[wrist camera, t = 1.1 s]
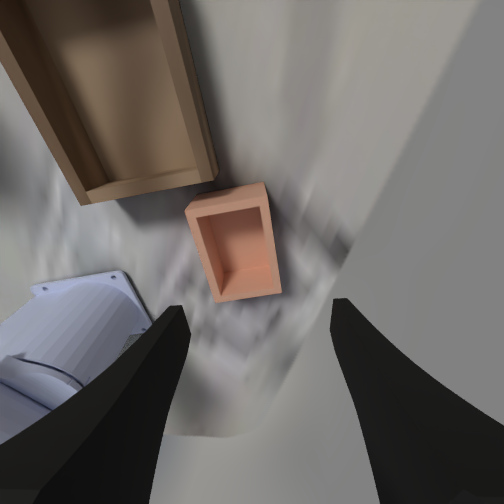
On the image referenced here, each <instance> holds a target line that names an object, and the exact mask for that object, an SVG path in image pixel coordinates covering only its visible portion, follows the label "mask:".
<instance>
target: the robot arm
mask: <svg viewBox="0 0 504 504" xmlns="http://www.w3.org/2000/svg"><path fill="white" fill-rule="evenodd" d="M114 276H116V278H115V277H114ZM30 290H31V291H32V293H33V294H34V295H35V297H33V298H32V299H31V300H30V301H28V302H27V303H26V304H25V305H23V306H22V307H21V308H20V309H19V310H17V311H16V312H15V313H14V314H12V315H11V316H10V317H9V318H7V319H6V320H5V321H4V322H2V323H1V324H0V504H149V499H150V494H151V489H152V483H153V479H154V474H155V469H156V464H157V459H158V454H159V450H160V446H161V441H162V437H163V432H164V428H165V424H166V420H167V416H168V412H169V409H170V405H171V402H172V399H173V396H174V393H175V390H176V387H177V384H178V381H179V378H180V375H181V372H182V369H183V366H184V363H185V360H186V357H187V353H188V348H189V343H190V338H191V332H190V329H189V326H188V323H187V320H186V316H185V313H184V310H183V307H182V305H177V306H169V307H168V308H167V309H166V310H165V311H164V312H163V313H162V314H161V316H160V317H159V318H158V319H157V320H156V321H155V322H154V323H153V324H152V322H151V320H150V319H149V317H148V315H147V313H146V311H145V309H144V307H143V306H142V304H141V302H140V300H139V298H138V296H137V295H136V293H135V291H134V289H133V287H132V285H131V283H130V282H129V280H128V278H127V276H126V274H125V273H124V272H123V271H120V270H118V271H112V272H106V273H100V274H94V275H88V276H82V277H76V278H70V279H64V280H58V281H52V282H47V283H41V284H35V285H33V286H32V287H31V288H30ZM144 328H145V329H144ZM140 333H143V334H142V336H141V337H140V338H139V339H138V340H137V341H136V342H135V343H134V344H133V345H131V346H130V347H129V348H128V349H127V350H126V351H125V352H124V353H123V354H122V355H121V356H120V357H119V358H118V359H117V357H118V355H119V354H120V352H121V350H122V348H123V346H124V345H125V343H126V341H127V339H128V338H129V336H130V335H133V334H140ZM330 333H331V337H332V342H333V345H334V350H335V353H336V355H337V358H338V361H339V364H340V367H341V369H342V372H343V375H344V378H345V380H346V383H347V386H348V388H349V391H350V394H351V396H352V399H353V402H354V405H355V408H356V411H357V415H358V418H359V422H360V426H361V429H362V433H363V437H364V440H365V444H366V448H367V452H368V456H369V460H370V464H371V468H372V472H373V476H374V480H375V484H376V488H377V492H378V496H379V501H380V504H504V426H503V425H502V424H500V423H499V422H497V421H496V420H494V419H492V418H491V417H489V416H488V415H486V414H484V413H483V412H482V411H480V410H478V409H477V408H475V407H474V406H473V405H471V404H470V403H468V402H467V401H465V400H464V399H462V398H461V397H459V396H458V395H457V394H455V393H454V392H452V391H451V390H449V389H448V388H446V387H445V386H444V385H442V384H441V383H440V382H438V381H437V380H436V379H434V378H433V377H432V376H430V375H429V374H428V373H426V372H425V371H424V370H422V369H421V368H420V367H419V366H418V365H416V364H415V363H414V362H413V361H411V360H410V359H409V358H408V357H407V356H405V355H404V354H403V353H402V352H401V351H400V350H399V349H398V348H396V347H395V346H394V345H393V344H392V343H391V342H390V341H389V340H388V339H387V338H386V337H385V336H383V335H382V334H381V333H380V332H379V331H378V330H377V329H376V328H375V327H374V326H373V325H372V324H371V323H370V322H369V321H368V320H367V319H366V318H365V317H364V316H363V315H362V314H361V312H360V311H359V310H358V309H357V308H356V307H355V306H354V305H353V304H352V303H351V302H350V301H349V300H348V299H347V298H341V299H333V306H332V315H331V323H330ZM116 359H117V360H116Z"/></svg>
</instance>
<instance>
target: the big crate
mask: <svg viewBox="0 0 504 504" xmlns="http://www.w3.org/2000/svg"><path fill="white" fill-rule="evenodd" d="M0 62H1V63H2V65H3V67H4V69H5V71H6V72H7V74H8V76H9V78H10V80H11V81H12V83H13V85H14V87H15V88H16V90H17V92H18V94H19V96H20V97H21V99H22V101H23V103H24V105H25V106H26V108H27V110H28V112H29V114H30V115H31V117H32V119H33V121H34V123H35V124H36V126H37V128H38V130H39V132H40V133H41V135H42V137H43V139H44V141H45V142H46V144H47V146H48V148H49V149H50V151H51V153H52V155H53V157H54V158H55V160H56V162H57V164H58V166H59V167H60V169H61V171H62V173H63V175H64V176H65V178H66V180H67V182H68V184H69V185H70V187H71V189H72V191H73V193H74V194H75V196H76V198H77V200H78V201H79V203H80V205H81V206H83V205H88V204H93V203H98V202H104V201H109V200H114V199H119V198H124V197H130V196H135V195H140V194H145V193H150V192H156V191H161V190H166V189H171V188H176V187H182V186H187V185H192V184H197V183H202V182H208V181H213V180H214V179H215V177H216V176H217V174H218V173H219V171H220V170H219V166H218V162H217V158H216V154H215V149H214V145H213V141H212V137H211V133H210V128H209V124H208V120H207V116H206V112H205V108H204V103H203V99H202V95H201V91H200V87H199V83H198V78H197V74H196V70H195V66H194V62H193V57H192V53H191V49H190V45H189V41H188V37H187V32H186V28H185V24H184V20H183V16H182V12H181V7H180V3H179V0H0Z"/></svg>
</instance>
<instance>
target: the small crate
mask: <svg viewBox="0 0 504 504" xmlns="http://www.w3.org/2000/svg"><path fill="white" fill-rule="evenodd" d="M185 214H186V217H187V220H188V223H189V226H190V229H191V232H192V235H193V238H194V241H195V244H196V247H197V250H198V253H199V256H200V259H201V262H202V265H203V268H204V271H205V273H206V276H207V279H208V282H209V285H210V288H211V291H212V294H213V297H214V300H215V303H218V302H225V301H231V300H238V299H245V298H251V297H258V296H264V295H271V294H277V293H282V290H281V283H280V276H279V270H278V263H277V256H276V250H275V243H274V237H273V230H272V223H271V217H270V210H269V204H268V197H267V193H266V189H265V185H264V182H260V183H255V184H250V185H244V186H239V187H234V188H229V189H223V190H218V191H213V192H207V193H202V194H197V195H196V196H195V197H194V198H193V200H192V201H191V202H190V204H189V205H188V206H187V208H186V209H185Z"/></svg>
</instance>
